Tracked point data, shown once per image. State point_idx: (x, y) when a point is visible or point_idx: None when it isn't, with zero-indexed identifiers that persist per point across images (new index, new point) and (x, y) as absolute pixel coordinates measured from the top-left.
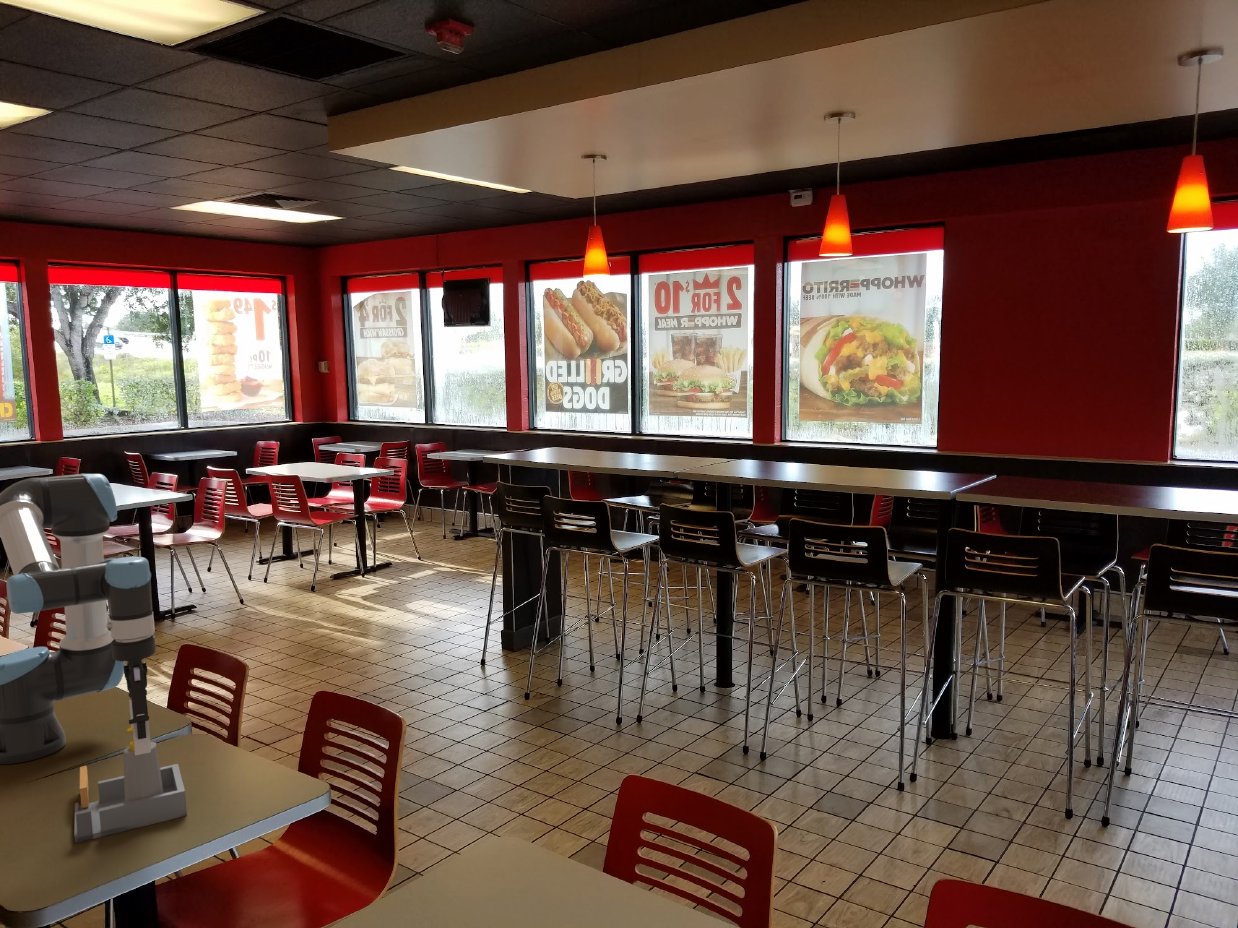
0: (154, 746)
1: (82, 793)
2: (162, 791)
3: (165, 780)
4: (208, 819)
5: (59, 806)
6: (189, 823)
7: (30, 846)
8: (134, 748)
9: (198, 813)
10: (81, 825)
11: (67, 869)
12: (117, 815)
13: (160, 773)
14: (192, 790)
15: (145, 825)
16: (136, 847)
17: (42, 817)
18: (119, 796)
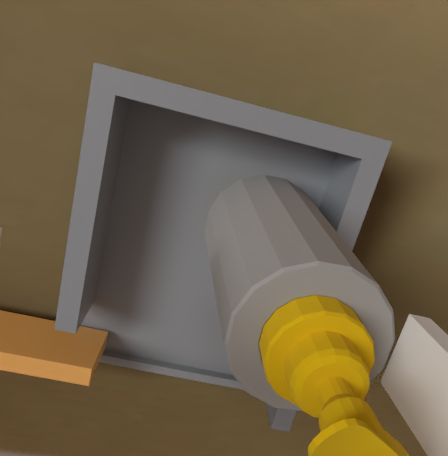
0: (370, 284)
1: (94, 369)
2: (299, 192)
3: (121, 121)
4: (442, 96)
5: None
6: (415, 147)
7: (206, 446)
8: (398, 406)
9: (375, 103)
10: None
11: (389, 415)
12: None
13: (311, 210)
14: (186, 49)
15: None
16: (423, 290)
17: (52, 403)
18: (101, 254)
